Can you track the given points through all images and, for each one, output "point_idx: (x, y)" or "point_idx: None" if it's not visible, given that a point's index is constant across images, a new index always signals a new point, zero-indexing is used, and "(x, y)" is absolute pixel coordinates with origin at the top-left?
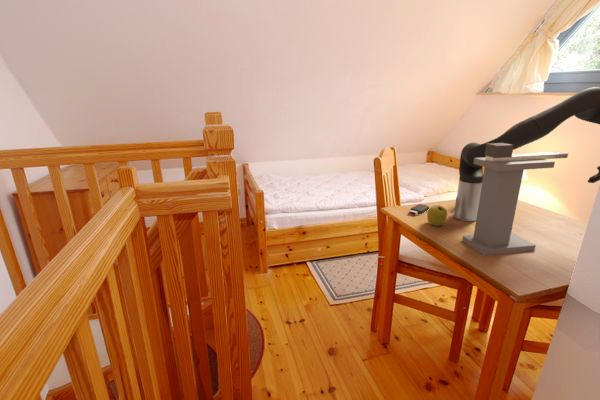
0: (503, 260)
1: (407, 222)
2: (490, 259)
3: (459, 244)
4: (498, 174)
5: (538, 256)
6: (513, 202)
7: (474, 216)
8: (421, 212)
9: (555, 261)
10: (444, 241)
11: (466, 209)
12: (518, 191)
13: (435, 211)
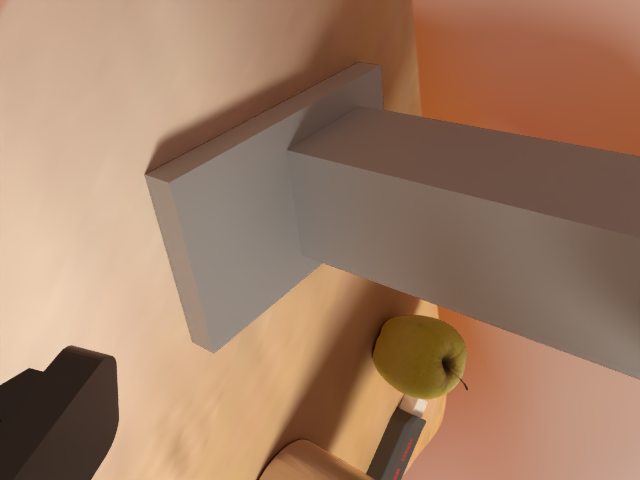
0: (317, 14)
1: (436, 314)
2: (351, 21)
3: None
4: None
5: (159, 84)
6: (549, 201)
7: (288, 476)
8: (397, 424)
9: (95, 17)
10: None
11: (349, 469)
12: (626, 231)
13: (458, 334)
